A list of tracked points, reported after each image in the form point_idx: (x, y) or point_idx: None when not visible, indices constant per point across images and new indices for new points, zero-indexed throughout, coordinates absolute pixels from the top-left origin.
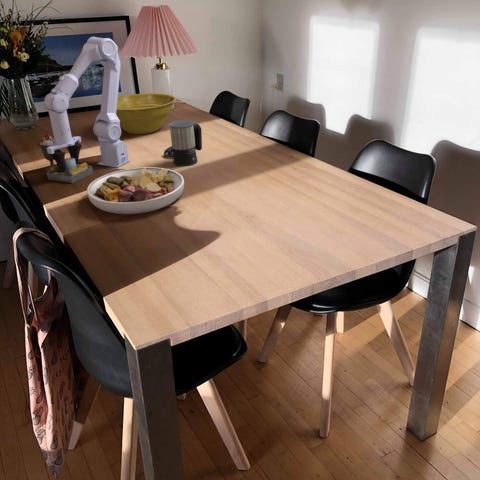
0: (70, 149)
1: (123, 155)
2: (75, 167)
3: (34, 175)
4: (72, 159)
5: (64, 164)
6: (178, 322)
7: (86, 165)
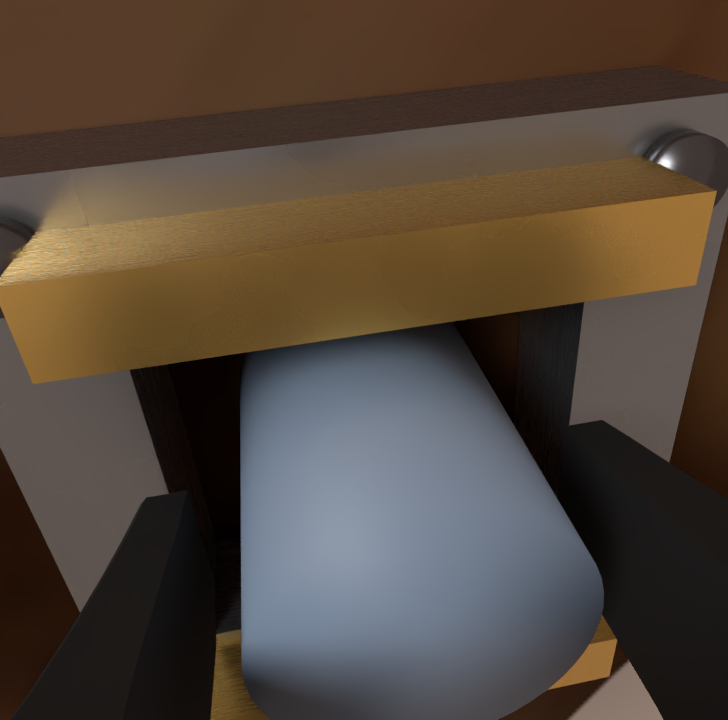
0: None
1: None
2: (471, 288)
3: (521, 711)
4: (347, 606)
5: (686, 505)
6: None
7: (59, 252)
